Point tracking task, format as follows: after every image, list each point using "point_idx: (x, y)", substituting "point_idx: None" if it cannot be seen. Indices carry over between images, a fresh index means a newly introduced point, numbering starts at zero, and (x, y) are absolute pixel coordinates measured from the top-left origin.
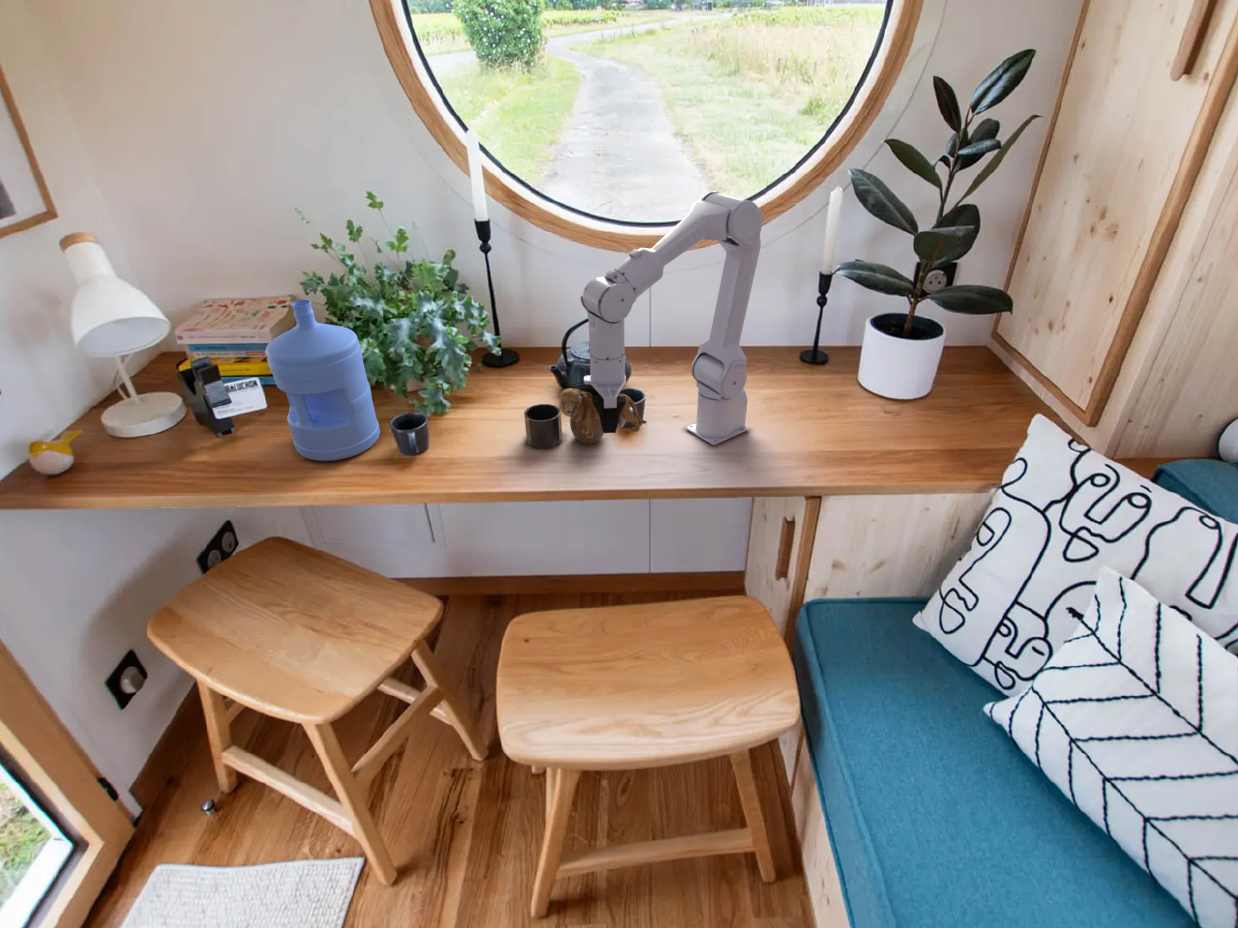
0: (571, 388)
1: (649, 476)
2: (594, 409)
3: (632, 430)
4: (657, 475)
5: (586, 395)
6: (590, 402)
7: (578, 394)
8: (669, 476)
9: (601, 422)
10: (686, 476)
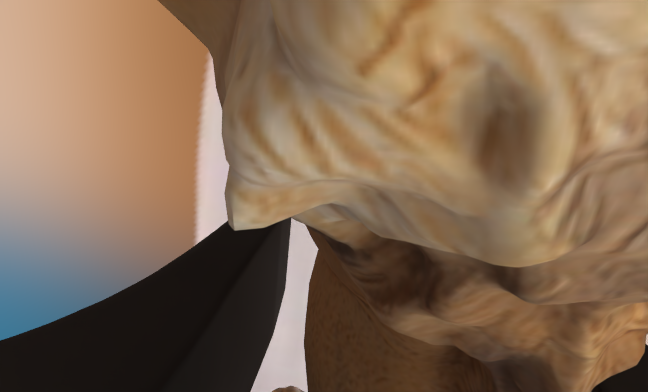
0: (640, 68)
1: (290, 256)
2: (321, 274)
3: (282, 390)
4: (292, 288)
5: (451, 344)
6: (366, 302)
7: (233, 224)
8: (276, 326)
9: (193, 248)
10: (266, 379)
